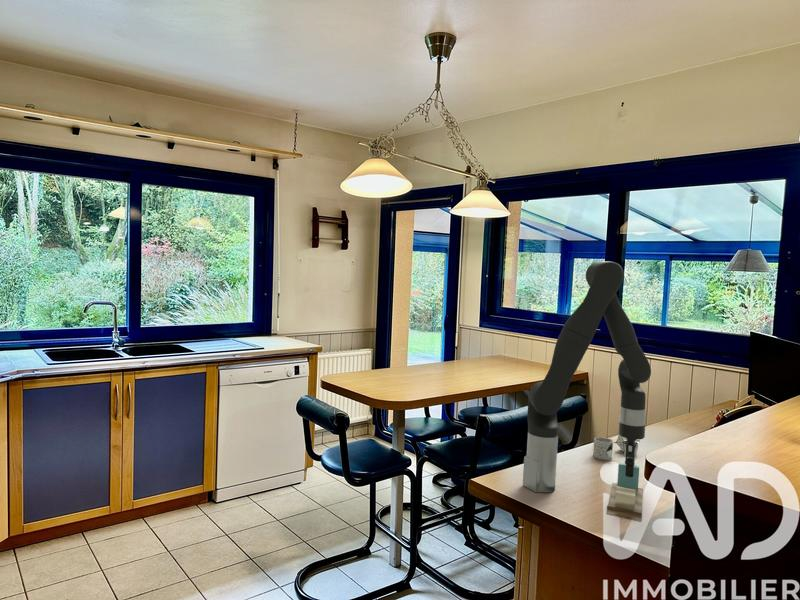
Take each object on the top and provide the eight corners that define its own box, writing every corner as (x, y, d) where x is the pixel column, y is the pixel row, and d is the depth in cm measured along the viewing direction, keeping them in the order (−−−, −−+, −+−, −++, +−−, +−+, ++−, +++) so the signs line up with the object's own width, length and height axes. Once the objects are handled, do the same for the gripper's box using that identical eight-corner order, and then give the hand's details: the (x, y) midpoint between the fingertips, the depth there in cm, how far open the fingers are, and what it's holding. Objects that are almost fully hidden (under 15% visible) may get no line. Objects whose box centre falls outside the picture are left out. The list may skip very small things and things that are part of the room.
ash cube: (634, 513, 146) (635, 496, 145) (614, 509, 148) (615, 492, 148) (634, 506, 150) (635, 489, 150) (615, 502, 152) (617, 486, 152)
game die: (630, 462, 203) (643, 447, 197) (609, 452, 205) (622, 437, 199) (631, 445, 210) (644, 430, 204) (610, 436, 212) (623, 421, 206)
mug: (610, 461, 192) (611, 443, 192) (591, 457, 196) (592, 440, 195) (614, 454, 201) (615, 437, 201) (596, 450, 204) (597, 433, 204)
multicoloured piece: (641, 525, 141) (643, 496, 140) (605, 517, 145) (607, 489, 144) (643, 491, 164) (644, 466, 164) (612, 485, 168) (613, 461, 168)
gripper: (644, 429, 156) (642, 482, 157) (645, 418, 169) (643, 467, 170) (617, 425, 159) (615, 477, 160) (620, 415, 172) (618, 463, 173)
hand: (629, 472), depth 165 cm, fingers open, 8 cm apart
